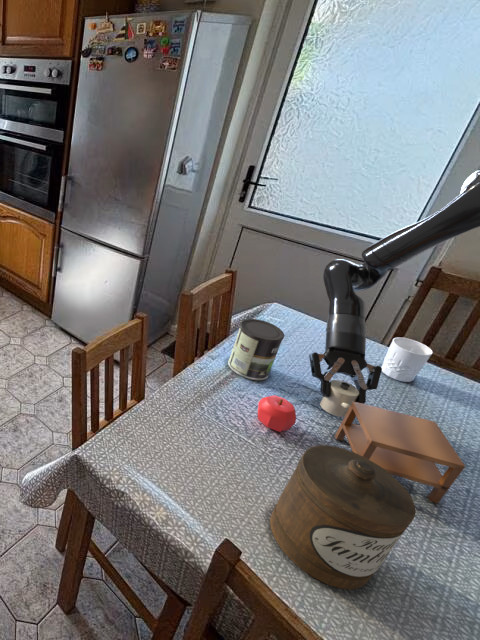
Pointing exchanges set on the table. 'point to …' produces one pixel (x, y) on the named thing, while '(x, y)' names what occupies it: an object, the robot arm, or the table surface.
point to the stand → (402, 446)
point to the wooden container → (340, 516)
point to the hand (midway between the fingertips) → (342, 400)
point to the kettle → (339, 398)
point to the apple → (276, 413)
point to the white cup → (405, 359)
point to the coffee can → (255, 349)
